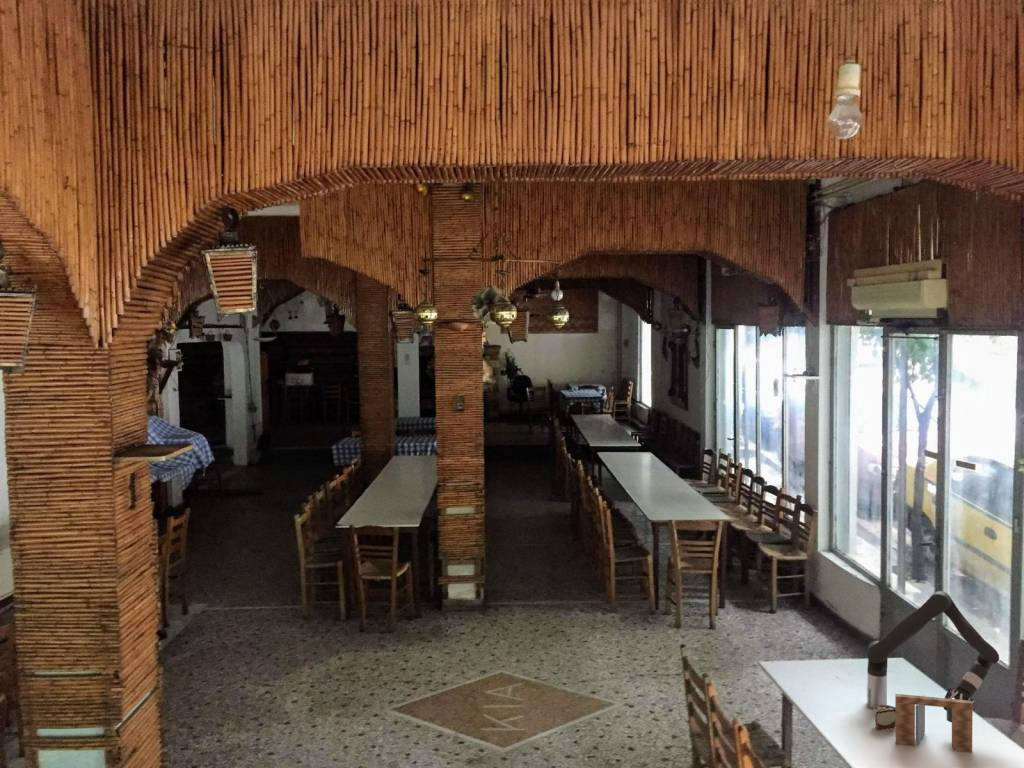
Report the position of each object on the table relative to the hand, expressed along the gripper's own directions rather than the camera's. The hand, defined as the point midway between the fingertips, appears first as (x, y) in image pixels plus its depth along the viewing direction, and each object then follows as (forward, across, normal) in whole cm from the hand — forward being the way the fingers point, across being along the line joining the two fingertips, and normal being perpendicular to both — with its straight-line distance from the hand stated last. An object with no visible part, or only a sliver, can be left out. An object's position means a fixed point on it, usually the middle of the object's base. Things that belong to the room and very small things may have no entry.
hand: (950, 712), depth 401 cm
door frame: (+19, +4, -1) cm, 19 cm away
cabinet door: (+18, -5, -1) cm, 19 cm away
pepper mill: (+2, 0, +4) cm, 5 cm away
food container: (+24, -20, -6) cm, 32 cm away
